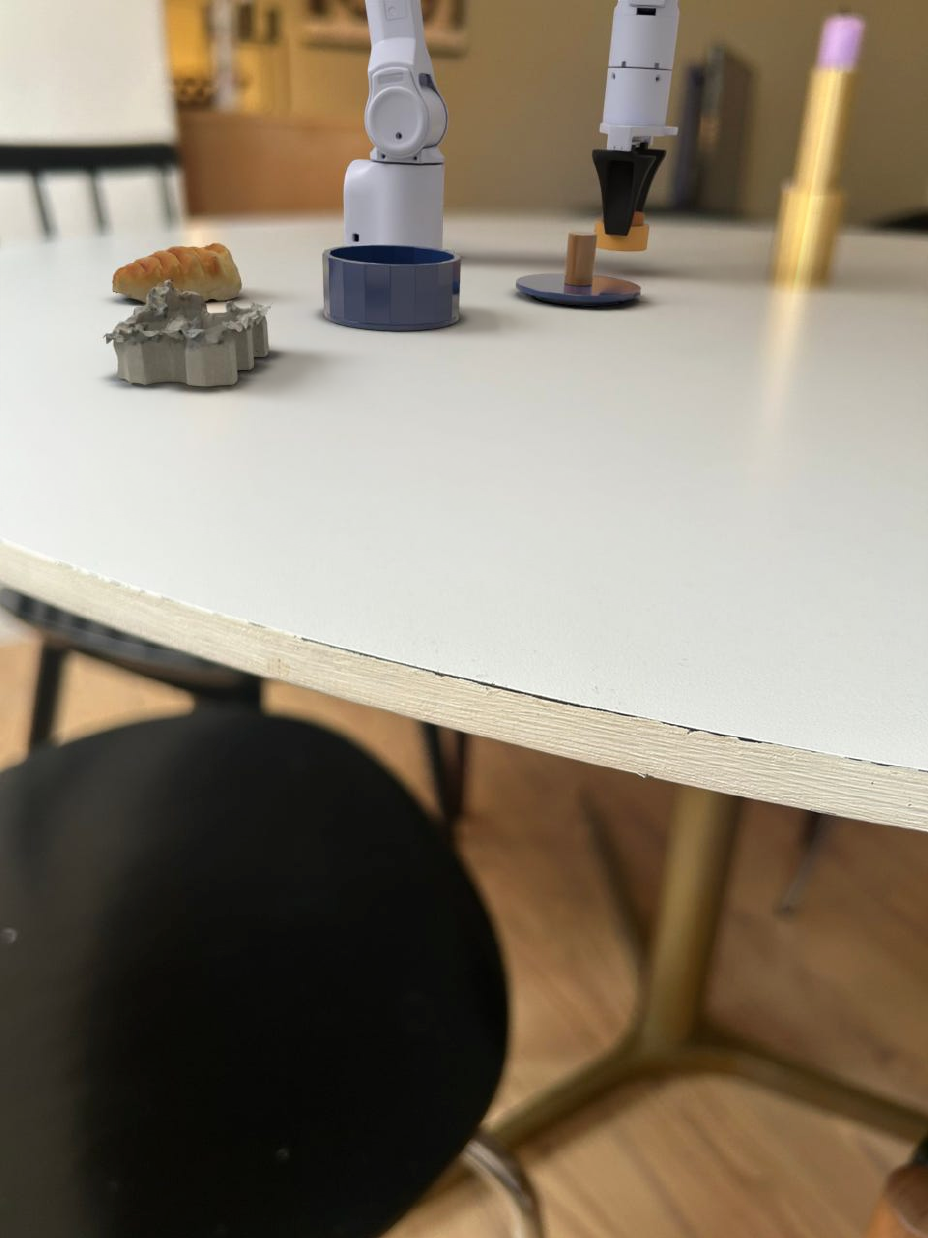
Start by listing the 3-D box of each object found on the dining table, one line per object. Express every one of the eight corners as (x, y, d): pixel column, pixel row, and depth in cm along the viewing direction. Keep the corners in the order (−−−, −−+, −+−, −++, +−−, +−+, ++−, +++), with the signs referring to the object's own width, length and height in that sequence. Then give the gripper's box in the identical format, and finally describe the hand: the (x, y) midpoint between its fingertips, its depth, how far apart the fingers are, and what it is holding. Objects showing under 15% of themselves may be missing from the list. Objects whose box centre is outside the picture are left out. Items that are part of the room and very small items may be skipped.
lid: (500, 301, 79) (504, 235, 76) (531, 281, 88) (536, 221, 85) (628, 314, 76) (636, 246, 74) (647, 292, 85) (655, 231, 83)
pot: (301, 321, 69) (298, 257, 67) (357, 298, 78) (356, 240, 76) (432, 336, 67) (434, 269, 65) (475, 310, 75) (477, 251, 73)
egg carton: (174, 342, 63) (167, 276, 61) (286, 350, 62) (282, 284, 60) (95, 383, 53) (84, 307, 51) (226, 394, 52) (220, 316, 50)
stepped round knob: (588, 248, 92) (591, 212, 90) (598, 241, 96) (601, 207, 95) (642, 253, 91) (646, 216, 89) (650, 246, 95) (654, 211, 93)
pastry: (134, 309, 70) (127, 254, 69) (100, 295, 75) (92, 243, 73) (250, 298, 76) (246, 247, 74) (211, 285, 80) (207, 236, 78)
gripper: (675, 68, 79) (652, 244, 86) (693, 73, 91) (672, 227, 98) (590, 64, 81) (574, 237, 87) (619, 70, 93) (603, 221, 100)
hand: (621, 231), depth 93 cm, fingers closed on stepped round knob, 5 cm apart
